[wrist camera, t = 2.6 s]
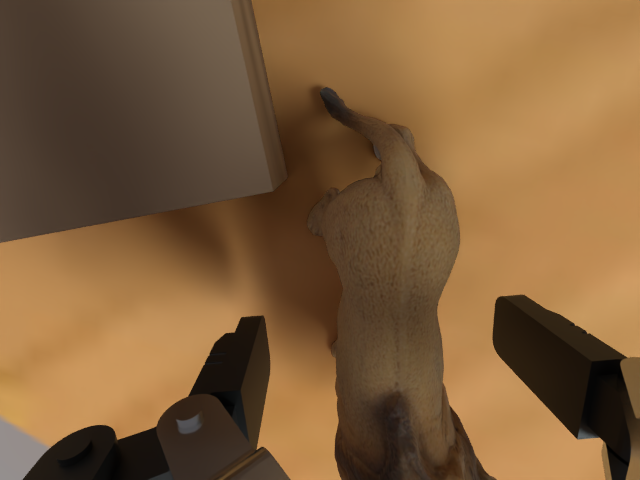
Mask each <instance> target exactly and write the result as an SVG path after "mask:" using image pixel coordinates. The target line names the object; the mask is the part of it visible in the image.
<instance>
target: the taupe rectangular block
mask: <svg viewBox="0 0 640 480" xmlns="http://www.w3.org/2000/svg"><path fill="white" fill-rule="evenodd" d="M287 178H288V175H287V170H286V165H285V160H284V155H283V151H282V146H281V141H280V136H279V131H278V127H277V122H276V117H275V112H274V107H273V102H272V98H271V93H270V88H269V83H268V78H267V74H266V69H265V64H264V59H263V54H262V50H261V45H260V40H259V35H258V30H257V25H256V21H255V16H254V11H253V6H252V1H251V0H0V243H1V242H6V241H12V240H17V239H22V238H28V237H33V236H38V235H44V234H49V233H54V232H60V231H65V230H70V229H76V228H81V227H86V226H92V225H97V224H102V223H108V222H113V221H118V220H124V219H129V218H134V217H140V216H145V215H150V214H156V213H161V212H166V211H172V210H177V209H182V208H187V207H193V206H198V205H203V204H209V203H214V202H219V201H225V200H230V199H235V198H241V197H246V196H251V195H257V194H262V193H267V192H273V191H274V190H275V189H276V188H277V187H278V186H280V185H281V184H282V183H283V182H284V181H285V180H286V179H287Z"/></svg>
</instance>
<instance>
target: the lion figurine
mask: <svg viewBox="0 0 640 480" xmlns="http://www.w3.org/2000/svg"><path fill="white" fill-rule="evenodd" d="M320 95H321V97H322V99H323V101H324V104H325V107H326V109H327V110H328V112H329V114H330V115H331V116H332V117H333V118H334V119H336V120H338V121H340V122H341V123H342V124H343V125H345V126H347V127H350V128H352V129H354V130H356V131H357V132H359V133H361V134H362V135H364V136H365V137H366V138H368V139H369V140H370V141H371V142H372V143H373V144H374V152H375V155H376V157H377V158H378V159H380V160H381V165H380V166H379V167H378V168H377V169H376V172H375V176H374V177H373V178H367V179H363V180H359V181H356V182H354V183H352V184H350V185H349V186H347V187H346V188H345V189H344V190H343V191H342V192H341V193H340V192H339V190H338V189H336V188H330V189H328V190H327V191H326V193H325V195H324V196H323V198H322V199H321V201H320V202H319V203H317V204H316V205H315V206H314V207H313V209H312V210H311V212H310V214H309V216H308V220H307V226H308V228H309V230H310V231H311V232H312V234H314V235H318V236H323V237H324V240H325V242H326V244H327V251H328V254H329V257H330V258H331V260H332V261H333V263H334V264H335V265H336V267H337V270H338V273H339V277H340V280H341V283H342V286H343V292H342V296H341V300H340V304H339V309H338V315H337V332H338V337H337V340H336V341H335V342H334V343H333V344H332V347H331V353H332V355H333V356H334V357H336V375H337V377H336V383H335V389H336V395H337V397H338V399H337V412H338V418H339V424H338V428H337V433H336V438H335V459H336V462H337V467H338V471H339V474H340V477H341V479H342V480H496V479H495V478H494V477H492V476H489V475H488V474H487V473H486V472H485V470H484V469H483V467H482V465H481V463H480V462H479V460H478V458H477V457H476V456H475V453H474V450H473V447H472V445H471V443H470V440H469V438H468V436H467V434H466V432H465V430H464V428H463V425H462V423H461V421H460V419H459V417H458V415H457V414H456V413H455V412H454V410H453V409H452V408H451V406H450V405H449V401H448V397H447V393H446V388H445V386H444V384H443V371H444V363H443V349H442V338H441V333H440V328H439V323H438V317H437V306H438V301H439V299H440V296H441V293H442V291H443V289H444V286H445V284H446V282H447V280H448V278H449V275H450V273H451V270H452V268H453V265H454V263H455V260H456V257H457V254H458V251H459V245H460V230H459V223H458V218H457V212H456V207H455V201H454V198H453V195H452V192H451V190H450V188H449V187H448V185H447V184H446V182H445V181H444V179H443V178H442V177H440V176H439V175H438V174H436V173H435V172H433V171H431V170H430V169H429V168H428V167H427V166H426V165H425V164H424V163H423V162H422V160H421V159H420V158H419V156H418V155H417V153H416V150H415V146H414V137H413V135H412V133H411V131H410V130H409V129H408V128H406V127H404V126H399V125H395V124H386V123H385V122H382V121H380V120H378V119H375V118H372V117H366V116H363V115H360V114H358V113H356V112H354V111H352V110H351V109H349V108H347V107H346V106H345V104H344V101H343V100H342V99H340V98H339V96H338V95H337V94H336V92H335V91H333V90H332V89H330V88H328V87H326V88H323V89H321V91H320Z"/></svg>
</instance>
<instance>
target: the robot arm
mask: <svg viewBox="0 0 640 480" xmlns="http://www.w3.org/2000/svg"><path fill="white" fill-rule="evenodd" d="M493 345H494V348H495V350H496V352H497V354H498V355H499V357H500V358H501V359H502V360H503V361H504V362H505V363H506V364H507V365H508V366H509V367H510V368H511V369H512V370H513V372H514V373H515V374H516V375H517V376H518V377H519V378H520V379H521V380H522V381H523V382H524V383H525V384H526V385H527V386H528V387H529V388H530V390H531V391H532V392H533V393H534V394H535V395H536V396H537V397H538V398H539V399H540V400H541V401H542V402H543V403H544V404H545V405H546V407H547V408H548V409H549V410H550V411H551V412H552V413H553V414H554V415H555V416H556V417H557V418H558V419H559V420H560V421H561V422H562V423H563V425H564V426H565V427H566V428H567V429H568V430H569V431H570V432H571V433H572V434H573V435H574V436H575V437H576V438H577V439H587V438H599V437H600V438H601V439H602V440H603V441H604V442H603V447H602V460H603V467H604V473H605V480H640V357H630V358H627V357H626V356H624V355H622V354H621V353H619V352H618V351H616V350H615V349H613V348H612V347H610V346H608V345H607V344H605V343H604V342H602V341H601V340H599V339H597V338H596V337H594V336H593V335H591V334H590V333H589V334H587V332H586V331H585V330H583V329H582V328H580V327H579V326H575V324H574V323H572V322H571V321H569V320H568V319H566V318H565V317H563V316H561V315H559V314H557V313H554V312H552V311H549V310H547V309H545V308H543V307H542V306H540V305H539V304H537V303H536V302H534V301H533V300H531V299H530V298H528V297H526V296H525V295H513V296H501V297H498V298H497V300H496V303H495V313H494V325H493ZM269 376H270V353H269V346H268V338H267V330H266V323H265V318H264V316H263V315H262V316H250V317H241V319H240V321H239V324H238V326H237V328H236V331H235V333H225V334H224V335H223V336H222V337H221V338H220V339H219V340H218V341H216V342H215V344H214V346H213V348H212V350H211V352H210V356H208V358H207V360H206V362H205V365H204V366H203V368H202V370H201V372H200V374H199V376H198V378H197V380H196V382H195V384H194V386H193V388H192V390H191V392H190V394H189V396H188V397H186V398H184V399H182V400H180V401H178V402H176V403H175V404H173V405H172V406H171V407H170V408H168V409H167V410H166V411H165V412H164V413H163V415H162V416H161V418H160V419H159V421H158V424H157V426H156V427H154V428H152V429H149V430H146V431H143V432H140V433H137V434H134V435H131V436H128V437H125V438H122V439H119V440H117V438H116V434H115V431H114V430H113V429H112V428H111V427H109V426H106V425H95V426H90V427H87V428H83V429H81V430H78V431H76V432H74V433H72V434H70V435H68V436H67V437H65V438H63V439H62V440H60V441H59V442H57V443H56V444H55V445H53V446H52V447H51V448H50V449H49V450H48V451H47V452H46V453H44V455H43V456H42V457H41V458H40V459H39V460H38V461H37V463H36V464H35V465H34V467H33V468H32V469H31V470H30V471H29V473H28V474H27V475H26V476H25V477H24V479H23V480H290V478H289V477H288V476H287V474H286V473H285V472H284V470H283V469H282V468H281V467H280V465H279V464H278V463H277V461H276V460H275V459H274V457H273V456H272V455H271V453H270V452H269V451H268V450H267V449H266V448H264V447H261V448H259V449H258V450H256V449H257V444H258V438H259V432H260V427H261V421H262V415H263V410H264V404H265V398H266V393H267V387H268V382H269Z"/></svg>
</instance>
